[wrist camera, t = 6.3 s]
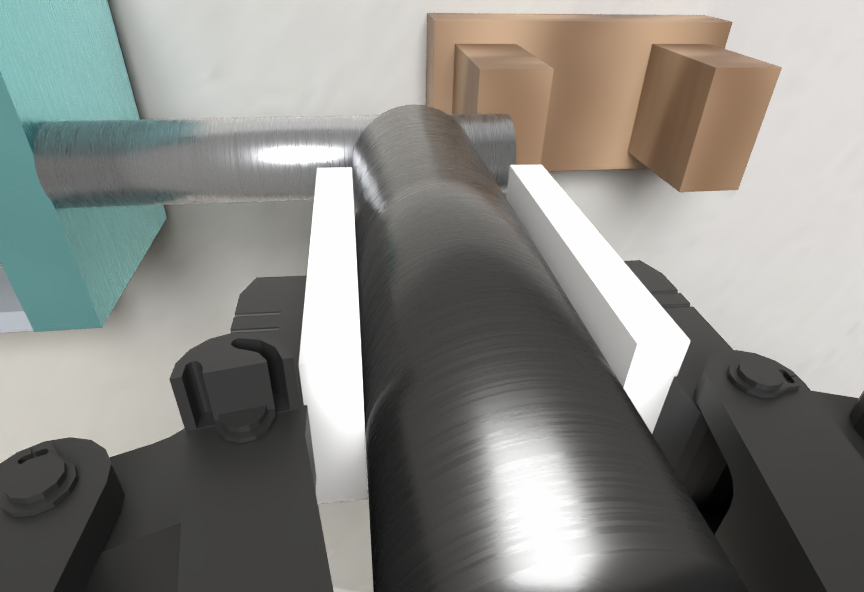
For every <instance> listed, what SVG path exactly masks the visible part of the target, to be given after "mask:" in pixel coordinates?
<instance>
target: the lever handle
mask: <svg viewBox="0 0 864 592" xmlns="http://www.w3.org/2000/svg"><path fill="white" fill-rule="evenodd" d="M510 165H516V137H515V130H514V125H513V122H512V119H511V117H510V115H509V114H507V113H501V114H447V113H445V112H443V111H441V110H439V109H436V108H433V107H429V106H424V105H406V106H401V107H397V108H394V109H391V110H389V111H387V112H385V113H383V114H381V115H380V116H321V117H260V118H200V119H140V118H139V114H138V111H137V107H136V103H135V100H134V96H133V92H132V89H131V85H130V81H129V78H128V74H127V71H126V67H125V63H124V60H123V56H122V52H121V49H120V45H119V41H118V38H117V34H116V30H115V27H114V23H113V20H112V16H111V12H110V9H109V5H108V1H107V0H0V263H1V265H2V267H3V269H4V271H5V273H6V275H7V277H8V279H9V281H10V283H11V285H12V287H13V289H14V291H15V294H16V296H17V298H18V300H19V302H20V304H21V306H22V308H23V310H24V312H25V314H26V316H27V318H28V320H29V322H30V324H31V326H32V328H33V330H34V332H38V331H54V330H70V329H86V328H102V327H103V325H104V323H105V322H106V320H107V318H108V316H109V315H110V313H111V311H112V310H113V308H114V306H115V305H116V303H117V301H118V300H119V298H120V296H121V294H122V293H123V291H124V289H125V288H126V286H127V284H128V283H129V281H130V279H131V278H132V276H133V274H134V272H135V271H136V269H137V267H138V266H139V264H140V262H141V261H142V259H143V257H144V256H145V254H146V252H147V251H148V249H149V247H150V245H151V244H152V242H153V240H154V239H155V237H156V235H157V234H158V232H159V230H160V229H161V227H162V225H163V223H164V222H165V220H166V218H167V216H166V213H165V209H164V205H174V204H202V203H230V202H258V201H285V200H313V199H314V196H315V185H316V174H317V168H332V167H352V179H353V198H354V218H355V238H356V258H357V278H358V298H359V317H360V337H361V357H362V378H363V397H364V416H365V435H366V454H367V473H368V492H369V511H370V530H371V550H372V569H373V588H374V592H748V589H747V588H746V586H745V584H744V583H743V581H742V579H741V578H740V576H739V574H738V573H737V571H736V570H735V568H734V566H733V565H732V563H731V561H730V560H729V558H728V557H727V555H726V553H725V552H724V550H723V549H722V547H721V545H720V544H719V542H718V540H717V539H716V537H715V536H714V534H713V532H712V531H711V529H710V527H709V526H708V524H707V523H706V521H705V519H704V518H703V516H702V514H701V513H700V511H699V510H698V508H697V506H696V505H695V503H694V502H693V500H692V498H691V497H690V495H689V493H688V492H687V490H686V489H685V487H684V485H683V484H682V482H681V480H680V479H679V477H678V476H677V474H676V472H675V471H674V469H673V467H672V466H671V464H670V463H669V461H668V459H667V458H666V456H665V455H664V453H663V451H662V450H661V448H660V446H659V445H658V443H657V442H656V440H655V438H654V437H653V435H652V433H651V432H650V430H649V429H648V427H647V425H646V424H645V422H644V420H643V419H642V417H641V416H640V414H639V412H638V411H637V409H636V407H635V406H634V404H633V403H632V401H631V399H630V398H629V396H628V395H627V393H626V391H625V390H624V388H623V386H622V385H621V383H620V382H619V380H618V378H617V377H616V375H615V373H614V372H613V370H612V369H611V367H610V365H609V364H608V362H607V360H606V359H605V357H604V356H603V354H602V352H601V351H600V349H599V348H598V346H597V344H596V343H595V341H594V339H593V338H592V336H591V335H590V333H589V331H588V330H587V328H586V326H585V325H584V323H583V322H582V320H581V318H580V317H579V315H578V313H577V312H576V310H575V309H574V307H573V305H572V304H571V302H570V301H569V299H568V297H567V296H566V294H565V292H564V291H563V289H562V288H561V286H560V284H559V283H558V281H557V279H556V278H555V276H554V275H553V273H552V271H551V270H550V268H549V266H548V265H547V263H546V262H545V260H544V258H543V257H542V255H541V254H540V252H539V250H538V249H537V247H536V245H535V244H534V242H533V241H532V239H531V237H530V236H529V234H528V232H527V231H526V229H525V228H524V226H523V224H522V223H521V221H520V219H519V218H518V216H517V215H516V213H515V211H514V210H513V208H512V207H511V205H510V203H509V202H508V200H507V198H506V197H505V195H504V194H503V193H506V192H507V186H508V178H509V169H510Z"/></svg>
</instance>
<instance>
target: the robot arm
mask: <svg viewBox="0 0 864 592" xmlns="http://www.w3.org/2000/svg"><path fill="white" fill-rule="evenodd" d="M506 198H507V200H508V202H509V203H510V205H511V207H512V208H513V210H514V211H515V213H516V215H517V216H518V218H519V219H520V221H521V223H522V224H523V226H524V228H525V229H526V231H527V232H528V234H529V236H530V237H531V239H532V241H533V242H534V244H535V245H536V247H537V249H538V250H539V252H540V254H541V255H542V257H543V258H544V260H545V262H546V263H547V265H548V266H549V268H550V270H551V271H552V273H553V275H554V276H555V278H556V279H557V281H558V283H559V284H560V286H561V288H562V289H563V291H564V292H565V294H566V296H567V297H568V299H569V301H570V302H571V304H572V305H573V307H574V309H575V310H576V312H577V313H578V315H579V317H580V318H581V320H582V322H583V323H584V325H585V326H586V328H587V330H588V331H589V333H590V335H591V336H592V338H593V339H594V341H595V343H596V344H597V346H598V348H599V349H600V351H601V352H602V354H603V356H604V357H605V359H606V360H607V362H608V364H609V365H610V367H611V369H612V370H613V372H614V373H615V375H616V377H617V378H618V380H619V382H620V383H621V385H622V386H623V388H624V390H625V391H626V393H627V395H628V396H629V398H630V399H631V401H632V403H633V404H634V406H635V407H636V409H637V411H638V412H639V414H640V416H641V417H642V419H643V420H644V422H645V424H646V425H647V427H648V429H649V430H650V432H651V433H652V435H653V437H654V438H655V440H656V442H657V443H658V445H659V446H660V448H661V450H662V451H663V453H664V455H665V456H666V458H667V459H668V461H669V463H670V464H671V466H672V467H673V469H674V471H675V472H676V474H677V476H678V477H679V479H680V480H681V482H682V484H683V485H684V487H685V489H686V490H687V492H688V493H689V495H690V497H691V498H692V500H693V502H694V503H695V505H696V506H697V508H698V510H699V511H700V513H701V514H702V516H703V518H704V519H705V521H706V523H707V524H708V526H709V527H710V529H711V531H712V532H713V534H714V536H715V537H716V539H717V540H718V542H719V544H720V545H721V547H722V549H723V550H724V552H725V553H726V555H727V557H728V558H729V560H730V561H731V563H732V565H733V566H734V568H735V570H736V571H737V573H738V574H739V576H740V578H741V579H742V581H743V583H744V584H745V586H746V588H747V589H748V592H864V391H863V393H862V394H861V396H860V397H859V398H853V397H847V396H841V395H834V394H828V393H822V392H816V391H810V389H809V388H808V387H807V385H806V384H805V383H804V382H803V381H802V380H801V379H800V378H799V377H798V376H797V375H796V374H795V373H794V372H793V371H791V370H790V369H788V368H786V367H785V366H783V365H781V364H780V363H778V362H776V361H774V360H772V359H769V358H766V357H764V356H761V355H758V354H756V353H750V352H744V351H738V350H733V349H732V348H731V347H730V346H729V345H728V344H727V343H726V341H725V340H724V339H723V338H722V337H721V336H720V335H719V334H718V333H717V332H716V331H715V330H714V329H713V327H712V326H711V325H710V324H709V323H708V322H707V321H706V320H705V319H704V318H703V317H702V316H701V315H700V313H699V312H698V311H697V310H696V309H695V308H694V307H690V303H689V302H688V301H687V299H686V298H685V297H684V296H683V295H682V294H681V293H678V292H677V291H678V290H677V289H676V288H675V287H674V285H673V284H672V283H671V282H670V281H669V280H668V279H667V278H666V277H665V276H664V275H663V274H662V273H660V272H659V271H657V270H655V269H654V268H652V267H650V266H649V265H647V264H645V263H643V262H642V261H640V260H638V261H623V260H622V259H621V258H620V257H619V255H618V254H617V253H616V252H615V251H614V250H613V248H612V247H611V246H610V245H609V244H608V242H607V241H606V240H605V239H604V238H603V236H602V235H601V234H600V233H599V232H598V231H597V229H596V228H595V227H594V226H593V225H592V223H591V222H590V221H589V220H588V219H587V218H586V216H585V215H584V214H583V213H582V212H581V210H580V209H579V208H578V207H577V206H576V205H575V203H574V202H573V201H572V200H571V199H570V197H569V196H568V195H567V194H566V193H565V192H564V190H563V189H562V188H561V187H560V186H559V184H558V183H557V182H556V181H555V180H554V179H553V177H552V176H551V175H550V174H549V173H548V171H547V170H546V169H545V168H544V167H543V166H542V165H510V169H509V178H508V186H507V194H506ZM170 382H171V385H172V389H173V392H174V395H175V398H176V401H177V405H178V408H179V411H180V414H181V418H182V421H183V424H184V427H185V429H183V430H181V431H180V432H178V433H176V434H175V435H173V436H171V437H169V438H166V439H164V440H161V441H159V442H156V443H154V444H151V445H148V446H145V447H141V448H138V449H135V450H132V451H129V452H126V453H122V454H119V455H116V456H113V457H110V458H109V456H108V454H107V452H106V449H104V448H103V447H101V446H100V445H98V444H97V443H95V442H93V441H92V440H87V439H79V438H70V437H69V438H63V439H57V440H51V441H45V442H42V443H40V444H37V445H35V446H32V447H30V448H27V449H25V450H22V451H20V452H17V453H16V454H14V455H13V456H11V457H10V458H8V459H7V460H5V461H4V462H2V463H1V464H0V592H333V586H332V581H331V575H330V570H329V564H328V559H327V553H326V548H325V542H324V537H323V531H322V526H321V520H320V515H319V509H318V504H324V503H334V502H344V501H354V500H365V499H368V489H367V467H366V445H365V423H364V401H363V379H362V357H361V337H360V317H359V298H358V278H357V258H356V238H355V218H354V198H353V179H352V167H332V168H317V174H316V185H315V196H314V206H313V217H312V227H311V238H310V249H309V259H308V270H307V276H287V277H262V278H256V279H255V280H254V281H253V282H252V283H251V284H250V285H249V286H248V287H247V288H246V289H245V290H244V291H243V292H242V293H241V294H240V297H239V300H238V304H237V308H236V311H235V317H234V319H233V323H232V326H231V333H230V334H227V335H223V336H219V337H216V338H212V339H209V340H207V341H205V342H203V343H201V344H200V345H198V346H196V347H194V348H192V349H190V350H189V351H188V352H187V353H186V354H185V355H184V356H183V357H182V358H181V359H180V360H179V361H178V362H177V363H176V364H175V367H174V369H173V372H172V374H171V377H170Z"/></svg>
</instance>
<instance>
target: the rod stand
mask: <svg viewBox="0 0 864 592" xmlns="http://www.w3.org/2000/svg"><path fill="white" fill-rule="evenodd" d="M731 25H732V22H730V21H726V20H722V19H718V18H714V17H709V16H705V15H593V14H463V13H427V70H426V106H429V107H433V108H436V109H439V110H441V111H443V112H445V113H447V114H501V113H507V114H509V115H510V117H511V119H512V122H513V125H514V130H515V137H516V165H542V166H543V167H544V168H545V169H546V170H547V171H570V170H603V169H635V168H649V169H650V170H652V171H653V172H654V173H656V174H657V175H658V176H659V177H661V178H662V179H663V180H665V181H666V182H667V183H668V184H670V185H671V186H672V187H674V188H675V189H676V190H677V191H679V192H694V191H720V190H738V188H739V185H740V182H741V180H742V177H743V174H744V171H745V169H746V166H747V163H748V160H749V157H750V155H751V152H752V149H753V146H754V144H755V141H756V138H757V135H758V132H759V130H760V127H761V124H762V121H763V119H764V116H765V113H766V110H767V107H768V105H769V102H770V99H771V96H772V94H773V91H774V88H775V85H776V82H777V80H778V77H779V74H780V71H781V69H782V67H779V66H776V65H773V64H769V63H766V62H763V61H760V60H757V59H754V58H751V57H747V56H744V55H741V54H738V53H735V52H732V51H729V50H725V45H726V42H727V39H728V35H729V32H730V29H731ZM503 194H504V195H505V197H506V194H507V192H506V193H503Z"/></svg>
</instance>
